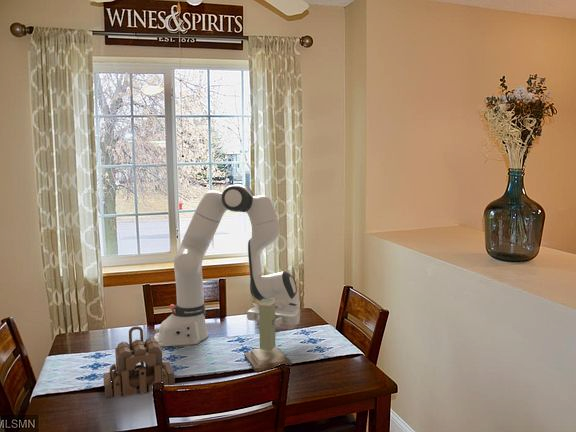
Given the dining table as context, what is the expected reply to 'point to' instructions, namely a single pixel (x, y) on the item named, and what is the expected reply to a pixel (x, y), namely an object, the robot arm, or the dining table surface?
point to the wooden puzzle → (137, 367)
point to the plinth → (266, 366)
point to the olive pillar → (267, 324)
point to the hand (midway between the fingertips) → (266, 322)
